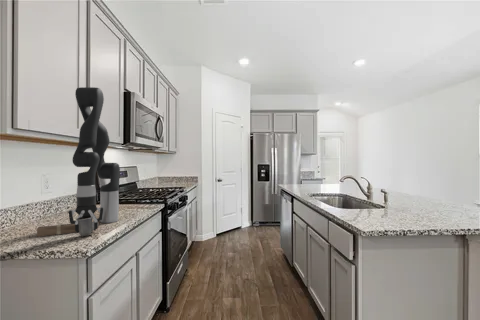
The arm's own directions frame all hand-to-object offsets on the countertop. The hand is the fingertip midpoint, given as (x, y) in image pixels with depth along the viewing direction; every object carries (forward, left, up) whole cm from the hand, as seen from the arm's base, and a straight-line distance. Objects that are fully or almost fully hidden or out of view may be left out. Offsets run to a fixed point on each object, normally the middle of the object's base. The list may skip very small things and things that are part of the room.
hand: (86, 231), depth 116 cm
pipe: (-1, 0, -2) cm, 2 cm away
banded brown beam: (-10, -9, -2) cm, 14 cm away
